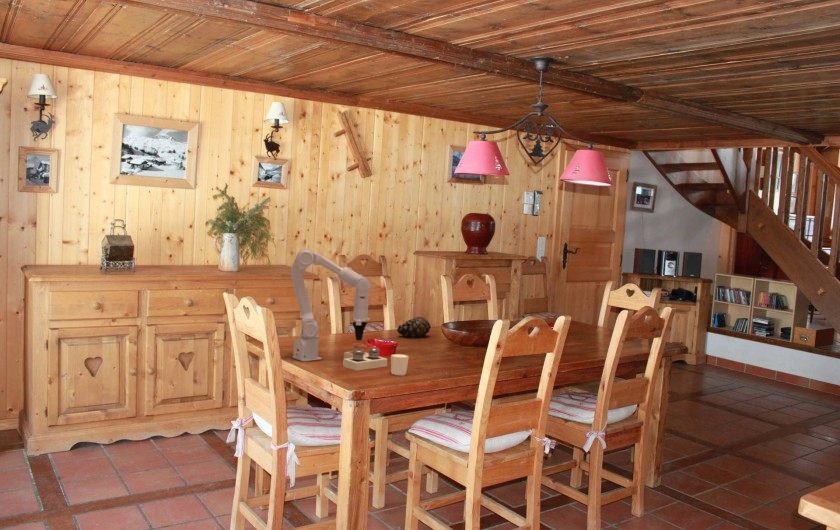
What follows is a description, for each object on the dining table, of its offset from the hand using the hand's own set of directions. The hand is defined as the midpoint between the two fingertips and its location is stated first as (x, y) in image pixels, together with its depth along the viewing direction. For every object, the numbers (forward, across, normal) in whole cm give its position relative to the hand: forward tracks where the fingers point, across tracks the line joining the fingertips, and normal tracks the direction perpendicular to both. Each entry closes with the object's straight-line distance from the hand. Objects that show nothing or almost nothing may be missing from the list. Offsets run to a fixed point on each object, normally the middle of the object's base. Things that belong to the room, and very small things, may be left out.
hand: (358, 340), depth 291 cm
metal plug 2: (+6, -7, -7) cm, 11 cm away
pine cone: (+9, +62, -23) cm, 66 cm away
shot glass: (+9, -17, -17) cm, 26 cm away
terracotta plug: (+6, 0, 0) cm, 6 cm away
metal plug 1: (+6, -12, -1) cm, 14 cm away
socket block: (+8, -6, 0) cm, 10 cm away
